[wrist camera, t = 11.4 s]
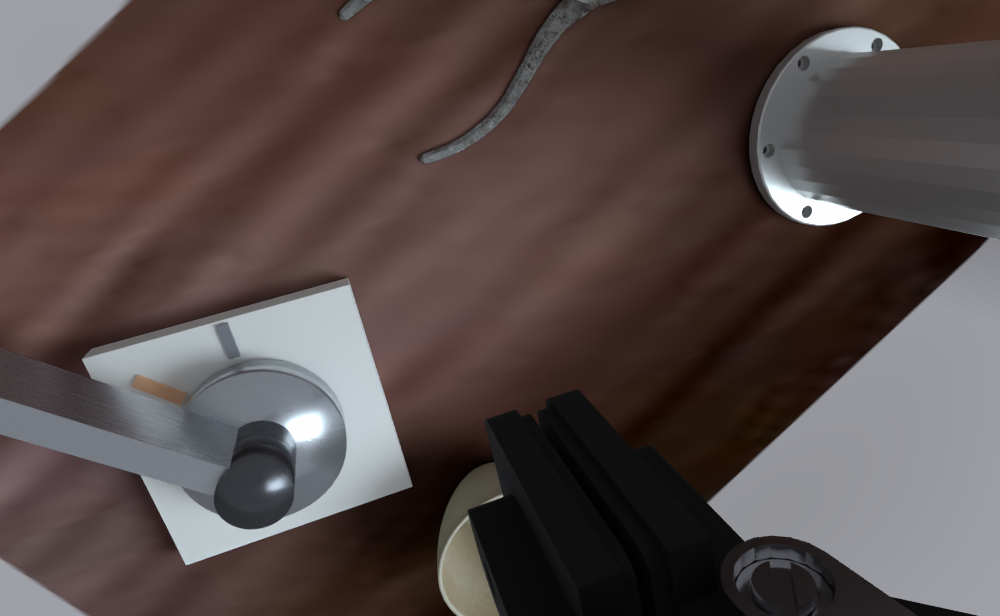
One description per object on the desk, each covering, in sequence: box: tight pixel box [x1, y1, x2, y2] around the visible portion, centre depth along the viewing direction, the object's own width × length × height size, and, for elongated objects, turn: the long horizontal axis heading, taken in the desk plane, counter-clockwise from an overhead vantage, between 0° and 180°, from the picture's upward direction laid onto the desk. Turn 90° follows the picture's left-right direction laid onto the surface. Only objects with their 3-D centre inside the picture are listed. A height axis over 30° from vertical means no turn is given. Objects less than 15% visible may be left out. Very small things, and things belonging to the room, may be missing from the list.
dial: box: [0, 348, 347, 529], centre depth 31 cm, size 20×9×6 cm, turn 59°
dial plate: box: [82, 278, 413, 565], centre depth 36 cm, size 14×14×2 cm
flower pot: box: [437, 462, 503, 616], centre depth 40 cm, size 10×10×7 cm
